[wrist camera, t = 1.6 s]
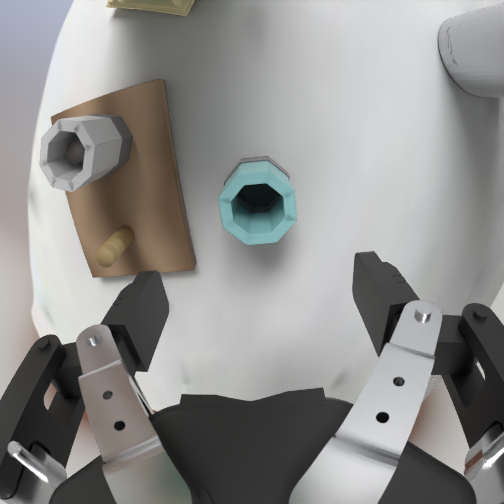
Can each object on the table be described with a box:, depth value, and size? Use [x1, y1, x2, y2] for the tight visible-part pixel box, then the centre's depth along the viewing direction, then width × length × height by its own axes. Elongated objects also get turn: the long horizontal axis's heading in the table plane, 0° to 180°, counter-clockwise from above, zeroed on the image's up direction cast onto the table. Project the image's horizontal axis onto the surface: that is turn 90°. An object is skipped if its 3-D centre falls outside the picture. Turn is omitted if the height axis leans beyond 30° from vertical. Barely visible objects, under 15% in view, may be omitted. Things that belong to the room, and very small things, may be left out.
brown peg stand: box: [51, 79, 196, 278], centre depth 23 cm, size 12×18×6 cm, turn 6°
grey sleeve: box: [39, 113, 133, 192], centre depth 20 cm, size 5×5×6 cm
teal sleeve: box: [218, 156, 297, 245], centre depth 23 cm, size 5×5×6 cm
